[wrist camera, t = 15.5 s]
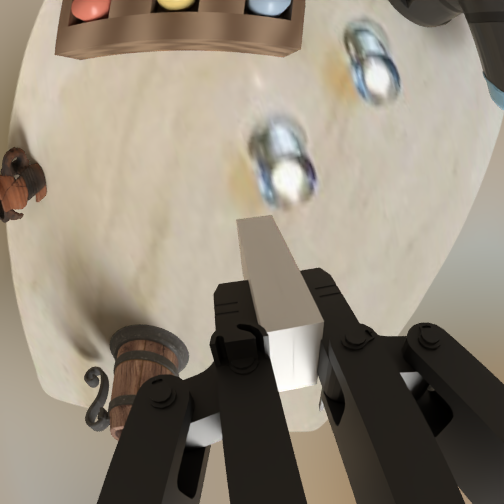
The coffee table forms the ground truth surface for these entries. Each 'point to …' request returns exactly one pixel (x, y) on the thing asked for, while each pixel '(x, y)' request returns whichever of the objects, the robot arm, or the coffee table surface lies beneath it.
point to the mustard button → (176, 5)
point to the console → (180, 29)
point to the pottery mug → (19, 184)
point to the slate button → (266, 7)
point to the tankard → (132, 372)
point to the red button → (91, 9)
